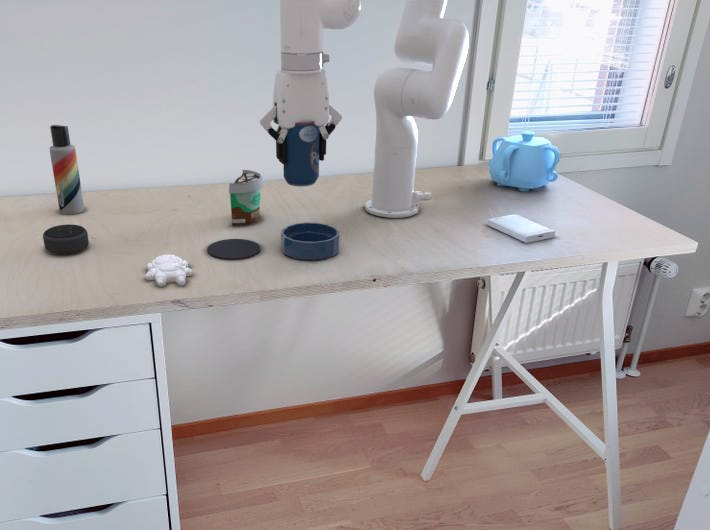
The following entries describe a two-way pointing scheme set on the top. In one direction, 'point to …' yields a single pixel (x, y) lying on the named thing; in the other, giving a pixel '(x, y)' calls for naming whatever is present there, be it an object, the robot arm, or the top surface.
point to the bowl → (310, 241)
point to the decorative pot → (524, 161)
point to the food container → (245, 198)
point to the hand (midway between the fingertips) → (301, 160)
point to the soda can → (302, 155)
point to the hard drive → (521, 228)
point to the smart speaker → (65, 239)
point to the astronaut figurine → (168, 270)
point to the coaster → (233, 249)
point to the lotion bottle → (65, 171)
